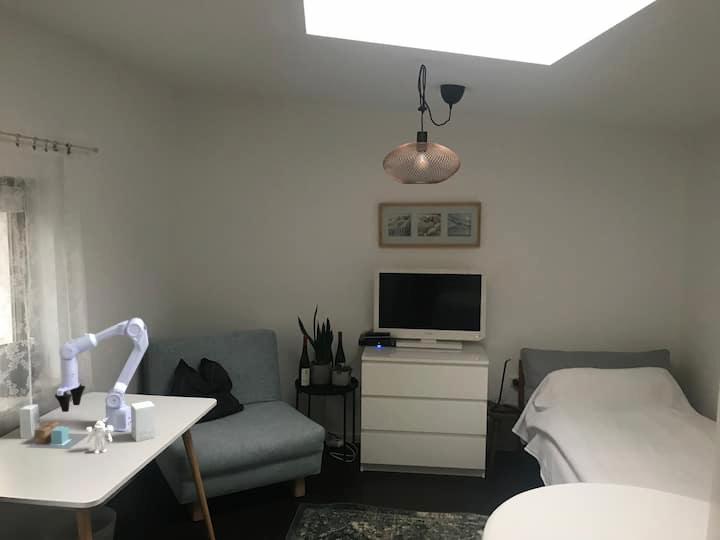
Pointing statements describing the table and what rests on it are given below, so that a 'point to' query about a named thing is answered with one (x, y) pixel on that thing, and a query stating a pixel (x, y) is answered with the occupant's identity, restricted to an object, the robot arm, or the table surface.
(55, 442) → the teal block
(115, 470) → the table surface
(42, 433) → the walnut blocks
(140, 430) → the supplement box
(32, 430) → the skincare box
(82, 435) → the baseplate
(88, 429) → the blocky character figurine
